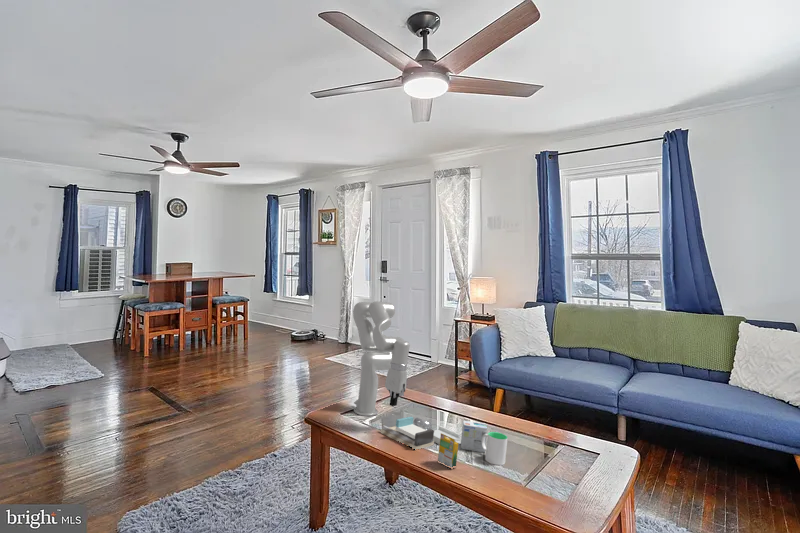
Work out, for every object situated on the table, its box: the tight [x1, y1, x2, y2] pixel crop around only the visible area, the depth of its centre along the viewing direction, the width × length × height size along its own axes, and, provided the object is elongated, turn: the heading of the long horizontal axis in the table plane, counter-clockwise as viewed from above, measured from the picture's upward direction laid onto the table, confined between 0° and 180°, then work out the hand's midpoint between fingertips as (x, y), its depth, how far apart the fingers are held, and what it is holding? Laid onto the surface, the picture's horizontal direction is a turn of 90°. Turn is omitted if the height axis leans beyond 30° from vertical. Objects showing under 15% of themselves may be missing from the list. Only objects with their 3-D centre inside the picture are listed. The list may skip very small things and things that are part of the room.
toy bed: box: [395, 416, 427, 440], centre depth 176 cm, size 12×10×6 cm
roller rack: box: [433, 425, 461, 445], centre depth 184 cm, size 12×14×2 cm
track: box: [380, 425, 435, 451], centre depth 178 cm, size 22×12×6 cm, turn 45°
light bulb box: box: [460, 419, 488, 453], centre depth 177 cm, size 11×7×11 cm, turn 84°
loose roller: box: [413, 417, 432, 430], centre depth 193 cm, size 8×4×4 cm, turn 45°
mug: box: [482, 431, 508, 466], centre depth 167 cm, size 12×8×10 cm
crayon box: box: [437, 433, 459, 467], centre depth 156 cm, size 7×3×12 cm, turn 43°
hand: (393, 405), depth 187 cm, fingers closed
